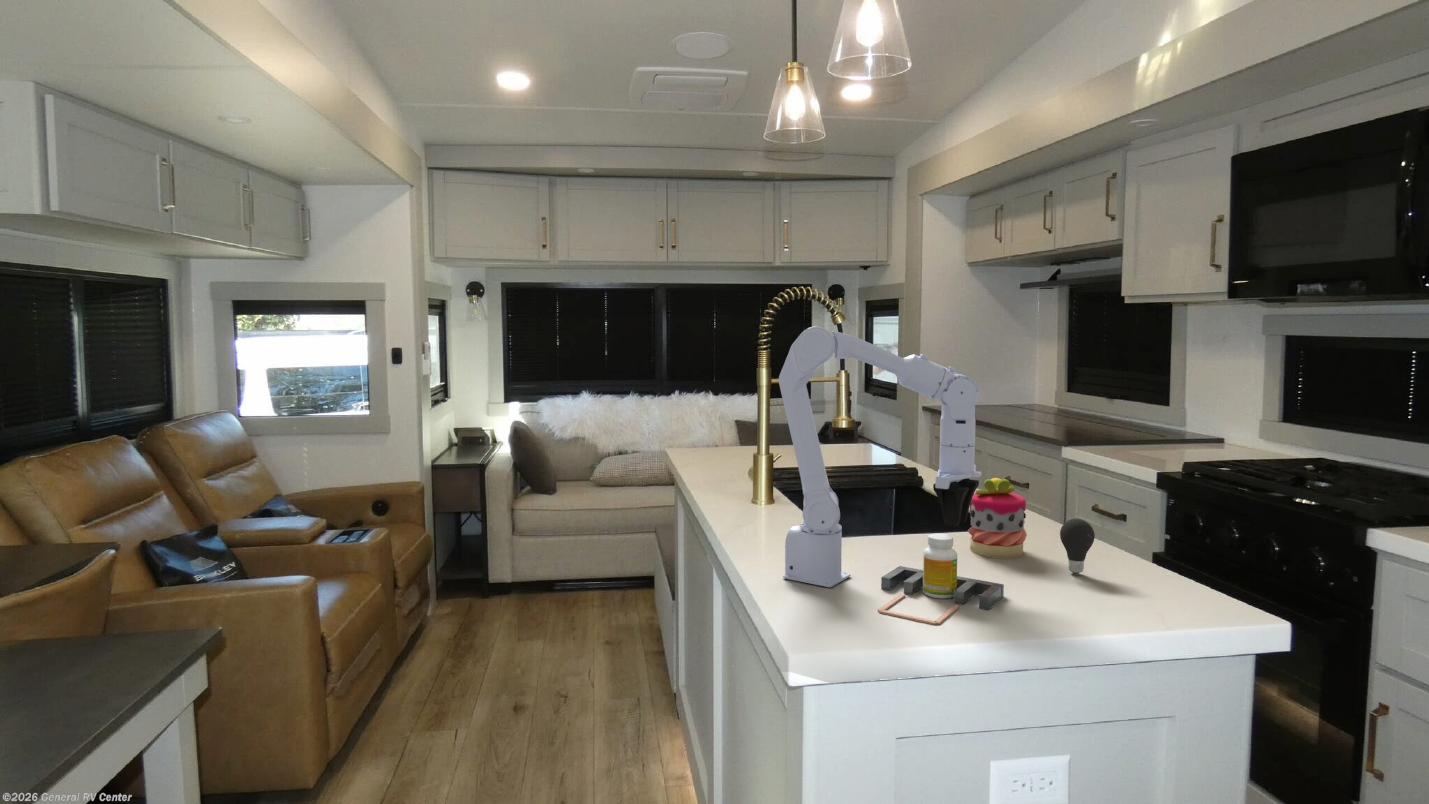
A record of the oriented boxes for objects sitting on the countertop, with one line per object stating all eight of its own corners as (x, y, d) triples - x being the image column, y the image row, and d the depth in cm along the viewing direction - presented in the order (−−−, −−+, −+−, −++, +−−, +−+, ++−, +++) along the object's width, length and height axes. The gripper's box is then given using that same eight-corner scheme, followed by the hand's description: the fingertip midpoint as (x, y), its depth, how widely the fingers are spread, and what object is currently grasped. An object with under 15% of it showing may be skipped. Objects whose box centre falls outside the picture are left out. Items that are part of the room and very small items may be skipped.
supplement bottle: (958, 600, 131) (959, 541, 130) (923, 598, 132) (924, 539, 131) (955, 589, 136) (956, 533, 135) (921, 587, 137) (922, 531, 136)
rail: (881, 588, 137) (881, 577, 136) (899, 577, 143) (899, 565, 143) (988, 609, 126) (989, 597, 126) (1003, 596, 132) (1003, 584, 132)
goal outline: (876, 612, 125) (876, 610, 125) (900, 595, 133) (900, 593, 133) (938, 625, 120) (938, 623, 120) (959, 607, 127) (959, 605, 127)
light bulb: (1053, 574, 144) (1055, 519, 143) (1065, 567, 148) (1067, 513, 147) (1086, 581, 140) (1088, 524, 139) (1097, 573, 144) (1099, 518, 143)
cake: (960, 544, 164) (962, 471, 162) (1012, 543, 164) (1014, 470, 163) (979, 559, 153) (981, 481, 152) (1034, 558, 154) (1036, 480, 152)
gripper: (966, 452, 129) (964, 535, 130) (994, 441, 141) (992, 518, 142) (923, 448, 133) (922, 529, 134) (954, 438, 145) (952, 513, 146)
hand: (955, 523), depth 138 cm, fingers open, 3 cm apart
